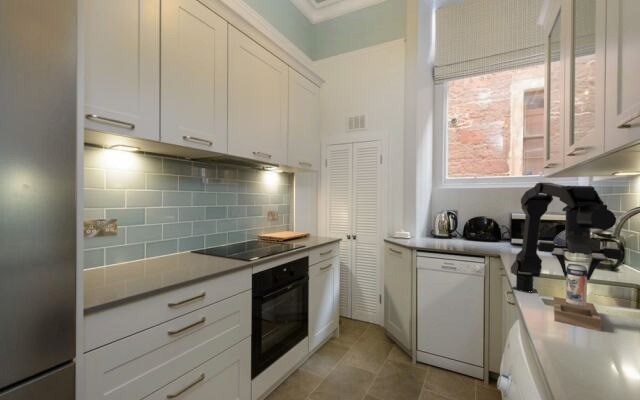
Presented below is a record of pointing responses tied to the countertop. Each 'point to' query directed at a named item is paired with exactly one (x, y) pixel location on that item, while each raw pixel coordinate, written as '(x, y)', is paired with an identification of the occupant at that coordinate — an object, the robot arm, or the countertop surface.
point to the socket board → (576, 314)
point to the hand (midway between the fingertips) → (576, 278)
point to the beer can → (576, 285)
